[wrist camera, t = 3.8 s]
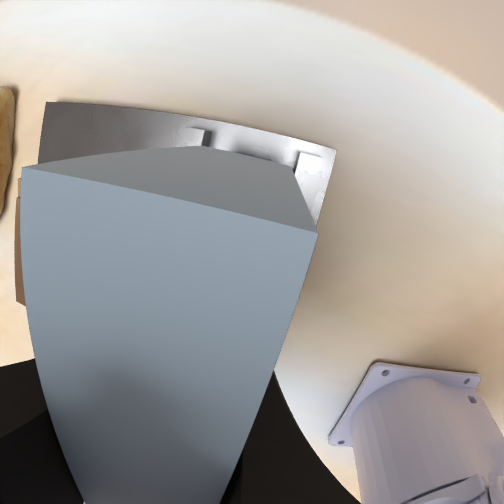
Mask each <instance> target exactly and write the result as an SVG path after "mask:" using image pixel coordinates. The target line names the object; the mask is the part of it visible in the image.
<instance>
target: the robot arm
mask: <svg viewBox="0 0 504 504" xmlns="http://www.w3.org/2000/svg"><path fill="white" fill-rule="evenodd" d="M385 370H387V371H386V372H383V371H385ZM480 381H481V377H480V376H479V374H474V373H463V372H452V371H443V370H434V369H425V368H417V367H410V366H402V365H395V364H388V363H382V362H378V363H375V364H373V365H372V366H371V367H370V369H369V371H368V373H367V374H366V376H365V378H364V380H363V382H362V383H361V385H360V387H359V389H358V390H357V392H356V394H355V396H354V397H353V399H352V401H351V402H350V404H349V406H348V407H347V409H346V411H345V412H344V414H343V416H342V417H341V419H340V420H339V422H338V424H337V425H336V427H335V428H334V430H333V431H332V433H331V434H330V436H329V438H328V443H329V444H330V445H335V446H347V447H353V450H354V456H355V462H356V469H357V475H358V482H359V488H360V495H361V502H362V504H504V437H503V435H502V433H501V431H500V429H499V428H498V426H497V424H496V422H495V421H494V419H493V417H492V415H491V414H490V412H489V410H488V408H487V407H486V405H485V403H484V402H483V400H482V398H481V397H480V395H479V393H478V392H477V390H476V387H477V385H478V384H479V382H480ZM83 503H84V500H83V498H82V495H81V493H80V491H79V489H78V487H77V485H76V483H75V480H74V478H73V476H72V473H71V471H70V469H69V466H68V464H67V461H66V459H65V456H64V454H63V451H62V448H61V446H60V443H59V440H58V438H57V435H56V432H55V429H54V426H53V423H52V420H51V417H50V413H49V410H48V407H47V403H46V400H45V396H44V393H43V389H42V385H41V381H40V377H39V373H38V369H37V365H36V360H35V358H34V359H31V360H28V361H24V362H19V363H15V364H11V365H6V366H2V367H0V504H83ZM219 504H361V503H360V502H359V501H358V500H357V499H356V498H355V497H354V496H352V495H351V494H350V493H349V492H348V491H347V490H346V489H345V488H344V487H343V486H342V485H341V483H340V482H339V481H338V480H337V479H336V478H335V477H334V475H333V474H332V473H331V472H330V471H329V469H328V468H327V467H326V466H325V465H324V464H323V462H322V461H321V460H320V458H319V457H318V456H317V454H316V453H315V451H314V450H313V449H312V447H311V446H310V444H309V443H308V441H307V439H306V438H305V436H304V435H303V433H302V431H301V430H300V428H299V426H298V424H297V423H296V421H295V419H294V417H293V415H292V413H291V411H290V409H289V407H288V405H287V402H286V400H285V398H284V396H283V393H282V391H281V388H280V386H279V383H278V381H277V378H276V375H275V372H274V370H273V372H272V375H271V378H270V381H269V383H268V386H267V389H266V391H265V394H264V397H263V399H262V402H261V404H260V407H259V410H258V412H257V415H256V417H255V420H254V422H253V425H252V427H251V430H250V432H249V435H248V437H247V440H246V442H245V445H244V447H243V450H242V452H241V454H240V457H239V459H238V462H237V464H236V466H235V469H234V471H233V473H232V476H231V478H230V480H229V483H228V485H227V487H226V490H225V492H224V494H223V496H222V499H221V501H220V503H219Z"/></svg>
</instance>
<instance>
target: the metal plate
mask: <svg viewBox="0 0 504 504" xmlns="http://www.w3.org/2000/svg"><path fill="white" fill-rule="evenodd" d="M183 146H206V147H211V148H216V149H220V150H225V151H230V152H234V153H239V154H243V155H248V156H252V157H256V158H261V159H265V160H269V161H273V162H277V163H281V164H285V165H289V166H291V168H292V170H293V173H294V175H295V177H296V180H297V182H298V184H299V187H300V189H301V191H302V194H303V196H304V199H305V201H306V203H307V206H308V208H309V211H310V213H311V216H312V218H313V220H314V223H315V225H316V224H317V221H318V217H319V214H320V210H321V207H322V203H323V200H324V196H325V193H326V189H327V185H328V182H329V178H330V175H331V171H332V167H333V163H334V160H335V156H336V152H337V150H335V149H332V148H328V147H325V146H321V145H318V144H314V143H311V142H307V141H303V140H299V139H296V138H292V137H288V136H284V135H280V134H276V133H272V132H267V131H263V130H259V129H254V128H250V127H245V126H240V125H236V124H231V123H226V122H221V121H215V120H210V119H204V118H199V117H193V116H187V115H181V114H174V113H167V112H160V111H153V110H145V109H137V108H128V107H118V106H108V105H96V104H81V103H62V102H46V106H45V112H44V118H43V124H42V131H41V139H40V147H39V156H38V164H42V163H47V162H53V161H59V160H65V159H71V158H78V157H85V156H92V155H99V154H107V153H116V152H124V151H134V150H144V149H156V148H168V147H183Z"/></svg>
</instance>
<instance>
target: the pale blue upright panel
mask: <svg viewBox="0 0 504 504" xmlns="http://www.w3.org/2000/svg"><path fill="white" fill-rule="evenodd" d="M318 234H319V233H318V230H317V228H316V225H315V223H314V220H313V218H312V216H311V213H310V211H309V208H308V206H307V203H306V201H305V199H304V196H303V194H302V191H301V189H300V187H299V184H298V182H297V180H296V177H295V175H294V173H293V170H292V168H291V166H289V165H285V164H281V163H277V162H273V161H269V160H265V159H261V158H256V157H252V156H248V155H243V154H239V153H234V152H230V151H225V150H220V149H216V148H211V147H206V146H183V147H168V148H156V149H144V150H134V151H124V152H116V153H107V154H99V155H92V156H85V157H78V158H71V159H65V160H59V161H53V162H47V163H42V164H36V165H31V166H26V167H22V176H21V197H20V238H21V260H22V273H23V284H24V294H25V302H26V310H27V316H28V323H29V329H30V335H31V340H32V346H33V351H34V356H35V360H36V365H37V369H38V373H39V377H40V381H41V385H42V389H43V393H44V396H45V400H46V403H47V407H48V410H49V413H50V417H51V420H52V423H53V426H54V429H55V432H56V435H57V438H58V440H59V443H60V446H61V448H62V451H63V454H64V456H65V459H66V461H67V464H68V466H69V469H70V471H71V473H72V476H73V478H74V480H75V483H76V485H77V487H78V489H79V491H80V493H81V495H82V498H83V500H84V502H85V503H86V504H219V503H220V501H221V499H222V496H223V494H224V492H225V490H226V487H227V485H228V483H229V480H230V478H231V476H232V473H233V471H234V469H235V466H236V464H237V462H238V459H239V457H240V454H241V452H242V450H243V447H244V445H245V442H246V440H247V437H248V435H249V432H250V430H251V427H252V425H253V422H254V420H255V417H256V415H257V412H258V410H259V407H260V404H261V402H262V399H263V397H264V394H265V391H266V389H267V386H268V383H269V381H270V378H271V375H272V372H273V370H274V367H275V364H276V361H277V359H278V356H279V353H280V350H281V348H282V345H283V342H284V339H285V336H286V333H287V330H288V327H289V325H290V322H291V319H292V316H293V313H294V310H295V307H296V304H297V301H298V298H299V295H300V292H301V289H302V286H303V283H304V279H305V276H306V273H307V270H308V267H309V264H310V261H311V257H312V254H313V251H314V248H315V244H316V241H317V238H318Z"/></svg>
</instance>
